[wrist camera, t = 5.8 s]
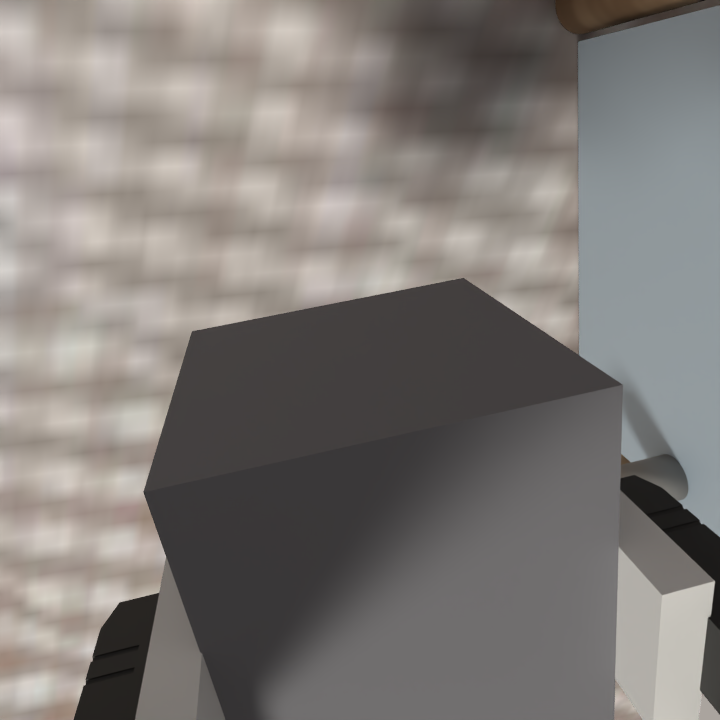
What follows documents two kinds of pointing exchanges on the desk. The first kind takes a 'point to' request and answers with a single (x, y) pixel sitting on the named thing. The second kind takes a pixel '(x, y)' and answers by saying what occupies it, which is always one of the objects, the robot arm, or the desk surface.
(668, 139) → the door
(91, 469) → the desk surface
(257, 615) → the block
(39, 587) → the desk surface
